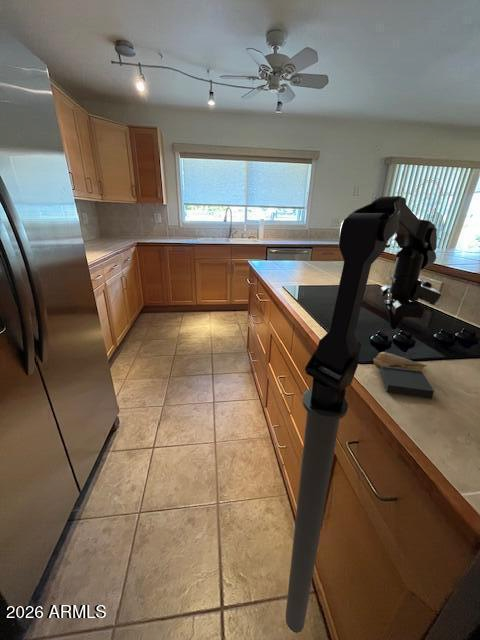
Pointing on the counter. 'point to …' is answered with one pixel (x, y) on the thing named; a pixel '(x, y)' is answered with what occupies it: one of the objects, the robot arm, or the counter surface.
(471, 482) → the counter surface
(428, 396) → the black pad
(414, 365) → the sandwich half
